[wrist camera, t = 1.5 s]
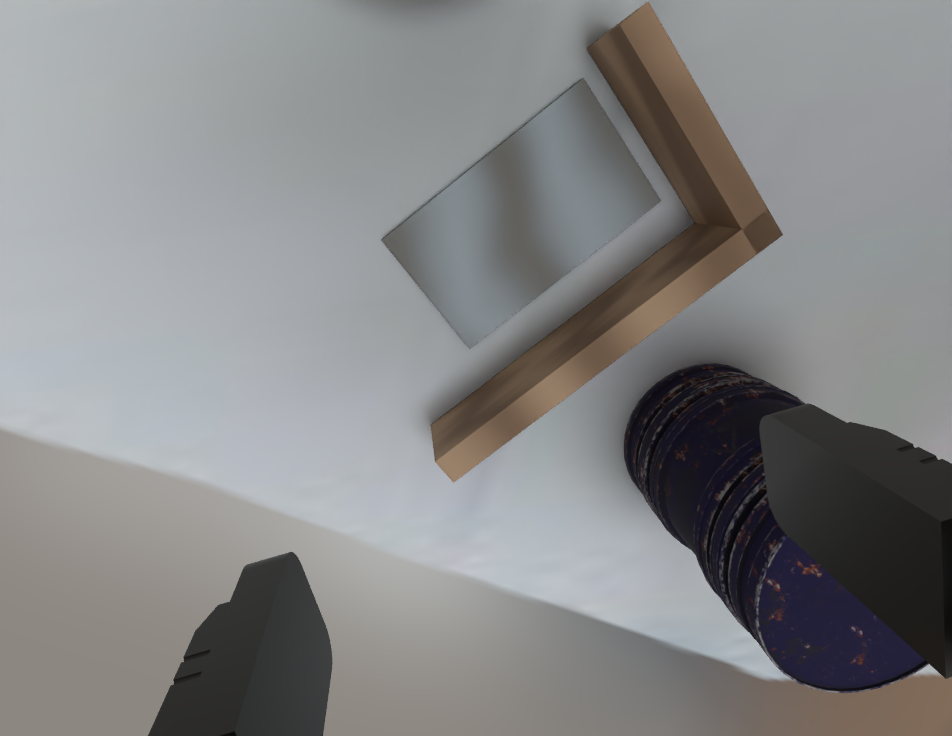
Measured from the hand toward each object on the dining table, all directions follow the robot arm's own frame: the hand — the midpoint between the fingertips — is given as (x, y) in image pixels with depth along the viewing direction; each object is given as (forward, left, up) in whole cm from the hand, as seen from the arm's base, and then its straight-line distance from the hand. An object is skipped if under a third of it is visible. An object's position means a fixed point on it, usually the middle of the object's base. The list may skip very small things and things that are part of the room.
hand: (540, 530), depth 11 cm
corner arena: (-5, +1, -25) cm, 25 cm away
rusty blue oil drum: (-7, +17, -25) cm, 31 cm away
